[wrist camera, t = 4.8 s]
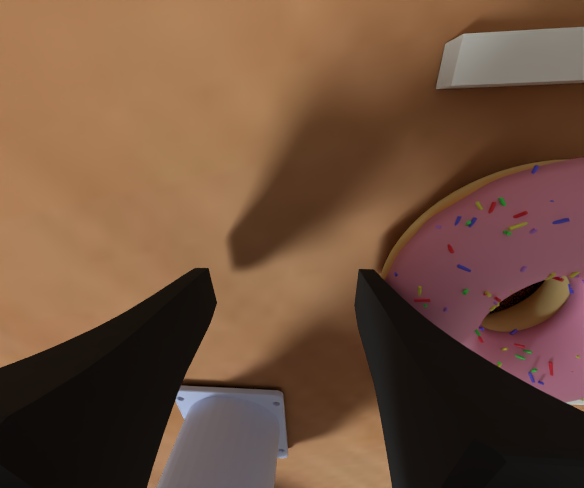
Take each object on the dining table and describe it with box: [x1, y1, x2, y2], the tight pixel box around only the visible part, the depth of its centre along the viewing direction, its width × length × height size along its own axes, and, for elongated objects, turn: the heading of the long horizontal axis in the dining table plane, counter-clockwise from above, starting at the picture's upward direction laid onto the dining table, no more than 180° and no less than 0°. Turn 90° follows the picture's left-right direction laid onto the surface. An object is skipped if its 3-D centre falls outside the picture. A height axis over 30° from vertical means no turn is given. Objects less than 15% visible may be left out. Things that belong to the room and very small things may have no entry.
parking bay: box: [436, 27, 584, 405], centre depth 10 cm, size 17×15×2 cm
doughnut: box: [381, 157, 584, 403], centre depth 9 cm, size 11×11×4 cm
